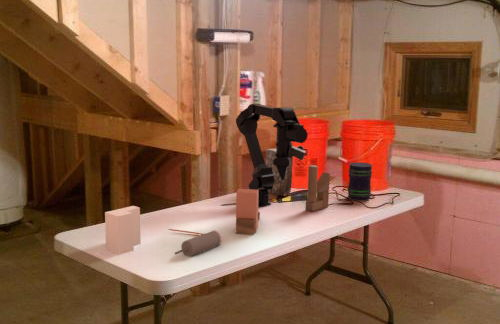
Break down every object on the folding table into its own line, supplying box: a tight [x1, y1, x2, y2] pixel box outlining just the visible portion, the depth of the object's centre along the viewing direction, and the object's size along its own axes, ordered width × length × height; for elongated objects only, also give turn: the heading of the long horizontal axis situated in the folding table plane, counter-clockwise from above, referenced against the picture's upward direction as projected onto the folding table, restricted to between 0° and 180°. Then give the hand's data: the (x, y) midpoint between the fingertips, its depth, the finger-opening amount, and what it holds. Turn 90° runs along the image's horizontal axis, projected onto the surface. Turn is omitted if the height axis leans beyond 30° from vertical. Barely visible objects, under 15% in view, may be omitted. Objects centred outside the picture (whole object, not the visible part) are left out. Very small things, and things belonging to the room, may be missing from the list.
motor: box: [167, 228, 223, 257], centre depth 173 cm, size 23×22×5 cm
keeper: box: [235, 188, 259, 232], centre depth 188 cm, size 5×7×14 cm
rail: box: [235, 211, 261, 236], centre depth 193 cm, size 20×6×5 cm, turn 171°
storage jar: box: [347, 161, 373, 202], centre depth 236 cm, size 10×10×15 cm
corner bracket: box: [104, 205, 141, 255], centre depth 170 cm, size 11×11×12 cm
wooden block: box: [305, 165, 331, 212], centre depth 217 cm, size 4×11×18 cm, turn 135°
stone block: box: [265, 148, 294, 196], centre depth 241 cm, size 13×7×20 cm, turn 40°
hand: (282, 179), depth 211 cm, fingers closed
